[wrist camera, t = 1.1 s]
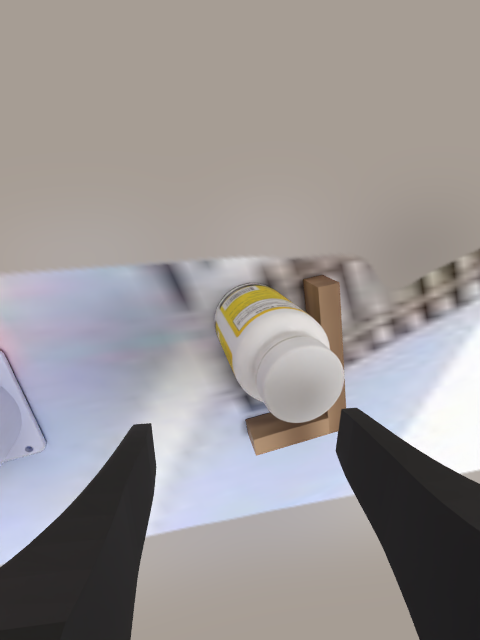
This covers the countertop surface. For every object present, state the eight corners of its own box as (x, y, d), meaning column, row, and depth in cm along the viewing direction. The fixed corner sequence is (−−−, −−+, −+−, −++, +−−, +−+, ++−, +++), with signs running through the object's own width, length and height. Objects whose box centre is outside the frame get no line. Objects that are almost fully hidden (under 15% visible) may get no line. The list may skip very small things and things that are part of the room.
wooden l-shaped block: (248, 434, 27) (256, 455, 25) (222, 297, 23) (229, 307, 21) (332, 410, 28) (347, 428, 26) (322, 274, 24) (339, 282, 22)
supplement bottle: (270, 359, 26) (329, 444, 16) (203, 342, 24) (228, 427, 15) (297, 293, 24) (377, 347, 15) (228, 271, 23) (272, 317, 14)
